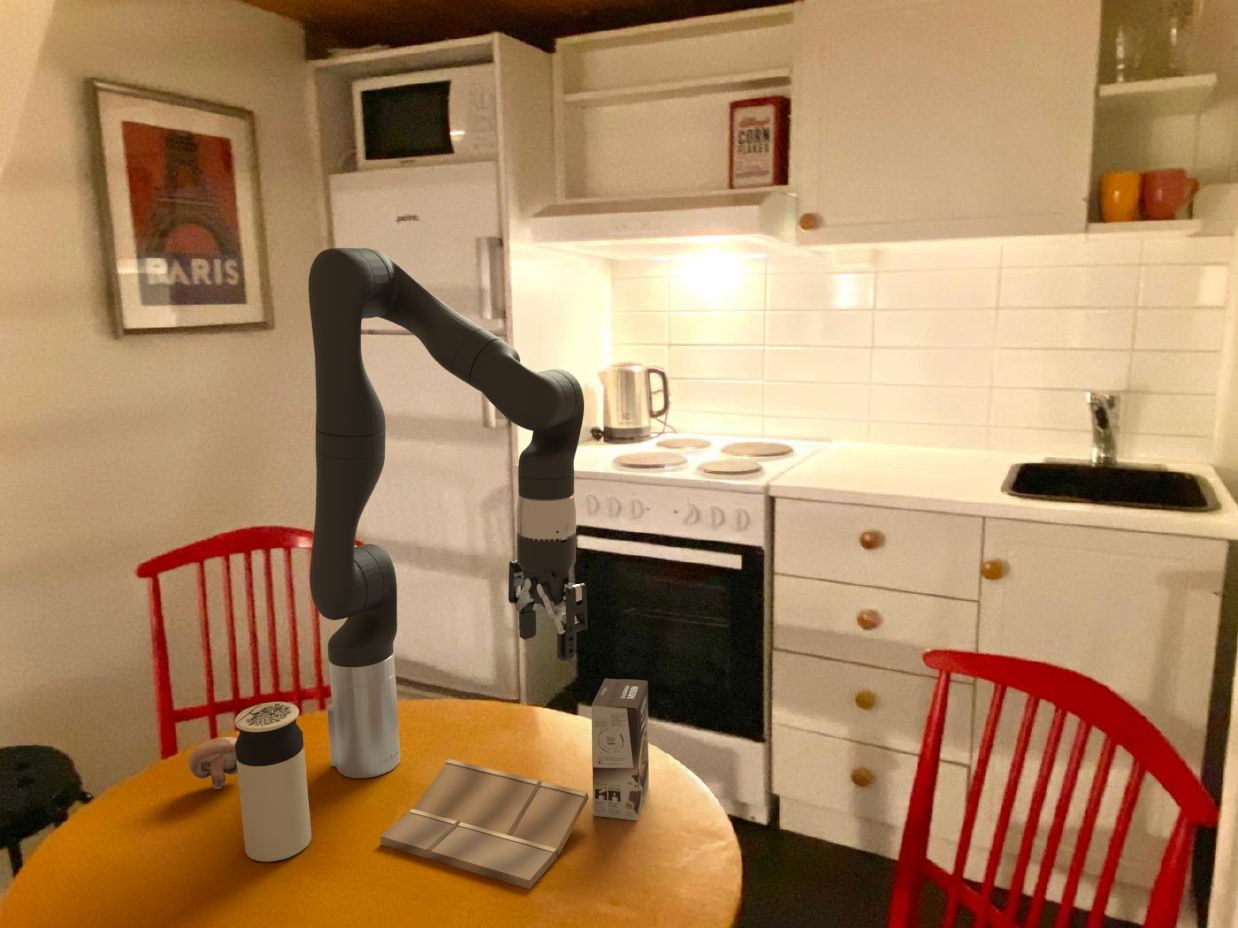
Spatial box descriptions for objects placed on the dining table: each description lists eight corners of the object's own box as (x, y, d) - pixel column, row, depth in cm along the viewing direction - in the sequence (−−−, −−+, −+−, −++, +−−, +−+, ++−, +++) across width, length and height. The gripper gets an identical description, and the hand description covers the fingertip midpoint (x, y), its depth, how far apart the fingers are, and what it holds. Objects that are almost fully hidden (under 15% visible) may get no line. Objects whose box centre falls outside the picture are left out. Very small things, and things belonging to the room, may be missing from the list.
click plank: (415, 815, 124) (412, 808, 123) (450, 764, 131) (448, 758, 130) (558, 855, 115) (556, 848, 114) (588, 798, 122) (587, 791, 121)
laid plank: (380, 844, 117) (380, 835, 117) (413, 817, 123) (412, 808, 123) (529, 889, 108) (529, 879, 108) (557, 857, 114) (556, 847, 114)
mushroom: (184, 799, 128) (178, 746, 127) (204, 776, 134) (199, 725, 133) (238, 799, 128) (233, 746, 127) (255, 776, 134) (251, 725, 133)
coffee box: (639, 821, 122) (637, 708, 119) (591, 816, 123) (589, 704, 120) (650, 785, 130) (649, 679, 127) (606, 781, 132) (604, 675, 129)
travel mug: (324, 833, 120) (314, 705, 117) (284, 869, 113) (271, 733, 109) (274, 822, 123) (262, 696, 119) (231, 856, 115) (217, 724, 112)
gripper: (490, 521, 119) (492, 637, 123) (555, 547, 109) (555, 674, 112) (538, 512, 124) (538, 624, 128) (604, 536, 113) (603, 658, 117)
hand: (546, 647), depth 120 cm, fingers open, 8 cm apart
